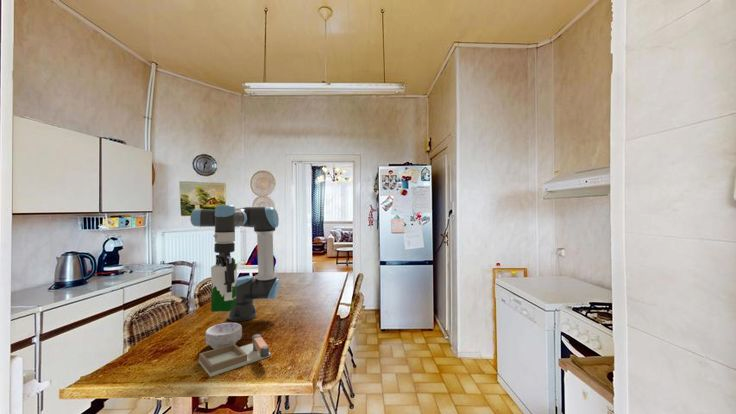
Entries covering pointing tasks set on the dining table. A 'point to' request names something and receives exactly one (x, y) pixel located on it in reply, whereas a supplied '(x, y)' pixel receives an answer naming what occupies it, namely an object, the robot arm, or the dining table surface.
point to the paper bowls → (223, 334)
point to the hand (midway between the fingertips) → (223, 297)
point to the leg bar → (260, 345)
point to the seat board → (228, 358)
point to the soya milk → (221, 289)
